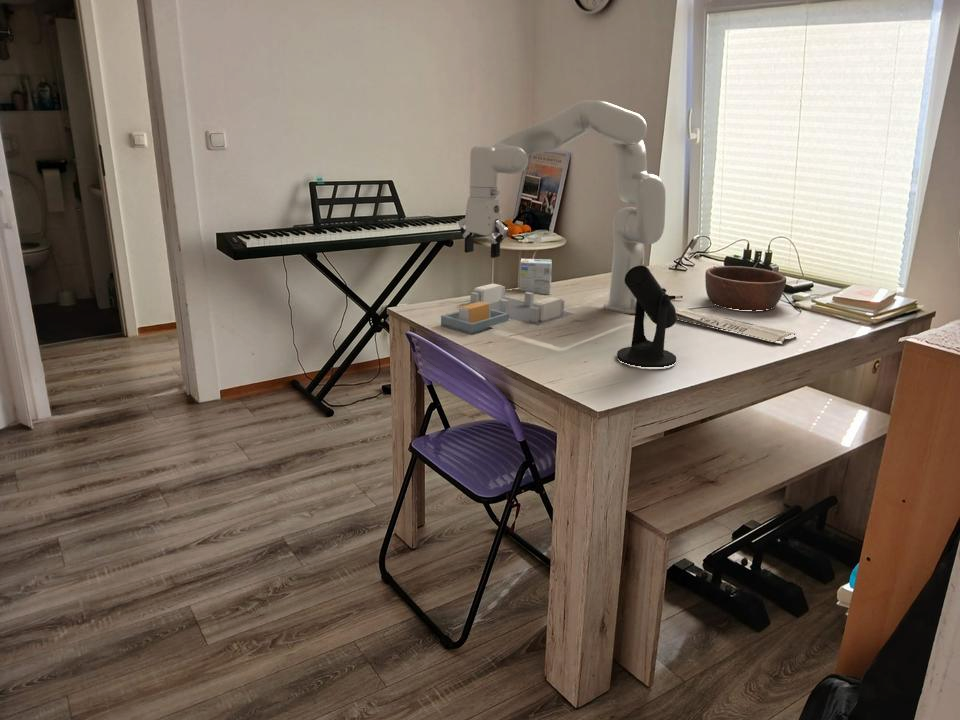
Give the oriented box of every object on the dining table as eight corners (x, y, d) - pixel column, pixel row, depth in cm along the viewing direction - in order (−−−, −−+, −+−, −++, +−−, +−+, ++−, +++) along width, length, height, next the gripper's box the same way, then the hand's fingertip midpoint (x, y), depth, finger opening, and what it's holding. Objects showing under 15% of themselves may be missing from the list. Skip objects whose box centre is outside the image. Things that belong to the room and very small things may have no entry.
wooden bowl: (749, 293, 268) (753, 264, 264) (798, 312, 245) (804, 280, 242) (687, 297, 260) (690, 267, 257) (732, 317, 238) (736, 284, 234)
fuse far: (502, 300, 245) (502, 285, 243) (481, 306, 238) (482, 290, 236) (493, 298, 247) (494, 283, 246) (473, 303, 240) (473, 288, 238)
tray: (508, 323, 224) (509, 313, 223) (472, 335, 213) (472, 324, 212) (477, 315, 232) (478, 305, 231) (440, 325, 220) (441, 315, 219)
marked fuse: (490, 319, 225) (491, 303, 223) (467, 326, 217) (467, 309, 216) (481, 317, 227) (482, 300, 225) (458, 324, 220) (458, 307, 218)
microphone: (600, 357, 198) (608, 261, 189) (647, 347, 207) (657, 255, 199) (643, 375, 186) (653, 273, 178) (690, 362, 196) (702, 266, 188)
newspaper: (796, 339, 219) (798, 327, 218) (778, 349, 210) (780, 336, 209) (683, 314, 241) (685, 303, 240) (663, 321, 232) (664, 310, 231)
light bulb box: (550, 290, 264) (552, 259, 260) (550, 295, 258) (552, 263, 254) (519, 288, 265) (520, 257, 261) (518, 293, 259) (519, 261, 255)
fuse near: (561, 314, 231) (562, 298, 229) (541, 321, 224) (542, 304, 222) (551, 312, 233) (552, 296, 232) (531, 318, 226) (532, 302, 224)
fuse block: (573, 316, 233) (574, 300, 231) (537, 328, 220) (538, 311, 219) (497, 298, 252) (498, 283, 250) (460, 308, 239) (460, 292, 237)
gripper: (516, 194, 209) (514, 257, 214) (468, 188, 219) (467, 248, 225) (498, 197, 203) (497, 261, 209) (450, 190, 214) (450, 251, 220)
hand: (481, 254), depth 217 cm, fingers open, 9 cm apart
